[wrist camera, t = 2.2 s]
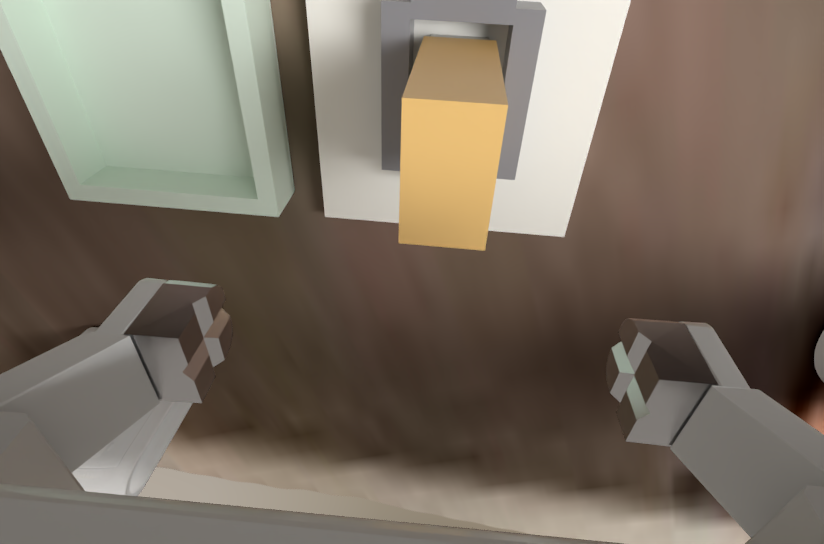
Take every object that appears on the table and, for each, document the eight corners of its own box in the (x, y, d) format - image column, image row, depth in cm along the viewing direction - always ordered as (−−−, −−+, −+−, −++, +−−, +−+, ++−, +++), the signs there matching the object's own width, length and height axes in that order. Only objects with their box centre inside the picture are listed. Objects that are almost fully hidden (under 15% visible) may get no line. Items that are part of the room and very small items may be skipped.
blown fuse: (494, 30, 21) (508, 105, 13) (480, 138, 24) (484, 250, 16) (427, 26, 21) (402, 97, 13) (422, 133, 24) (398, 243, 16)
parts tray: (255, -110, 20) (226, -111, 17) (294, 190, 28) (278, 216, 26) (-17, -122, 20) (-81, -125, 18) (102, 175, 29) (69, 199, 27)
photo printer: (93, 354, 40) (-28, 498, 30) (82, 318, 37) (-55, 464, 28) (214, 380, 41) (133, 530, 31) (211, 346, 38) (122, 499, 28)
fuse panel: (657, -124, 18) (685, -128, 16) (561, 227, 28) (569, 257, 26) (300, -140, 19) (276, -145, 17) (328, 208, 29) (316, 235, 26)
